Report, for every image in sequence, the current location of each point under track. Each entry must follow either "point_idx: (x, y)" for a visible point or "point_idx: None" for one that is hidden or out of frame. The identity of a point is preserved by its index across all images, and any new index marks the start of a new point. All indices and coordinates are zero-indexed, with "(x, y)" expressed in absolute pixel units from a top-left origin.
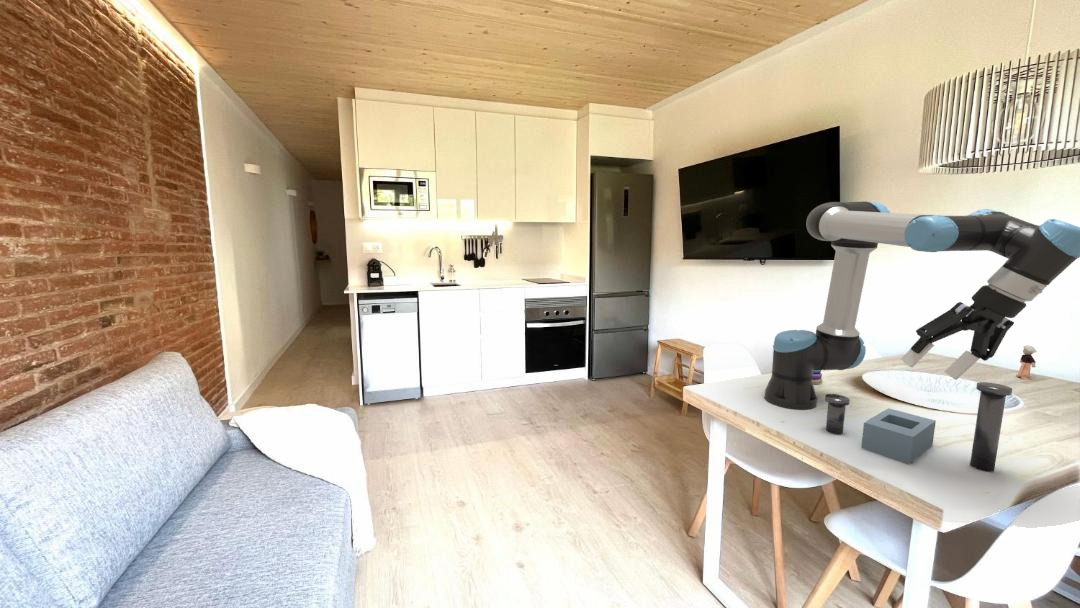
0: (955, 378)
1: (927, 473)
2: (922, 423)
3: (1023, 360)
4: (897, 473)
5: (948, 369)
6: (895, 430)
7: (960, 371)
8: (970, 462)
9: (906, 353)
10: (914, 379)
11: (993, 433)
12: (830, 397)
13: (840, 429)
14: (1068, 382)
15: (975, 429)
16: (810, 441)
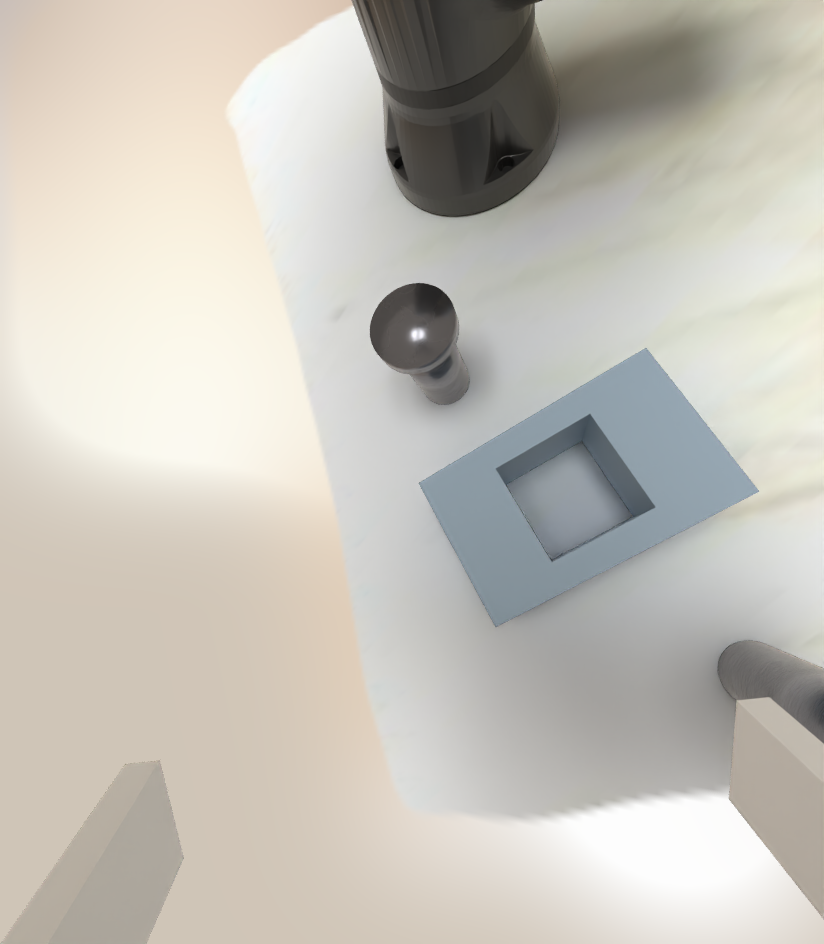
0: (739, 810)
1: (513, 670)
2: (656, 515)
3: None
4: (422, 652)
5: (769, 746)
6: (476, 564)
7: (814, 888)
8: (728, 652)
9: (67, 852)
10: None
11: None
12: (384, 323)
13: (442, 398)
14: None
15: (795, 693)
16: (328, 444)
